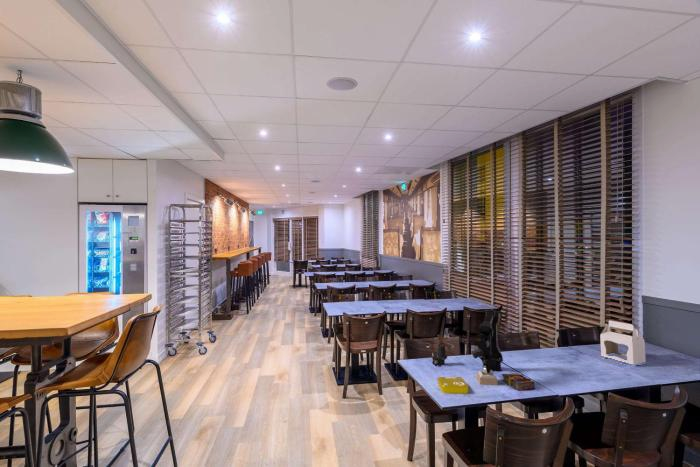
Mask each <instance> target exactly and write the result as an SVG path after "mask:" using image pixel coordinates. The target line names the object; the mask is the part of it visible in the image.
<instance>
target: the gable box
mask: <svg viewBox="0 0 700 467" xmlns="http://www.w3.org/2000/svg"><path fill="white" fill-rule="evenodd" d="M604 326H605V327H604V328H603V329H602V330H601V332H600V334H599V335H600V337H599V338H600V340H599V341H600V355H601V356H604V357H608V358H612V359H615V360H618V361H622V362H626V363H629V364H633V365H634V364H638V363H642V362H646V344H645V342H646V341H645V339H644V337H643V336H642V335H641V333H640V332H639V330H638V329H637V328H635V327H636V326H635V325H634V324H633V323H632V324H631V323H628V322H627V323H626V322H622V321H615V320H608V323H605V325H604ZM612 328H615V329H622V330H626V331H631V332H632V335H628V334H624V333H619V332H613V331H612ZM619 345H625V346H627V348H628V350H627V352H626V353H621V352H619ZM610 353H615V354H618V355H622V356H626V357H627V360H624V359H622V358H619V357H617V356H608V355H607V354H610ZM601 356H600V357H601Z"/></svg>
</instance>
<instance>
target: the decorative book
mask: <svg viewBox="0 0 700 467" xmlns="http://www.w3.org/2000/svg"><path fill="white" fill-rule="evenodd" d="M501 376H502V379H501V381H502V382H503V383H504V384H507V385H508V386H510V387H512V388H513V389H515V390H516V391H519V392H523V391H524V390H534V389H536V388H535V387H536V386H535V381H533V380H532V379H531V378H528V377H526V376H524V375H523V374H522V373H521V374H520V373H518V372H516V373H502V374H501Z"/></svg>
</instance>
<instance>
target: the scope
mask: <svg viewBox="0 0 700 467" xmlns="http://www.w3.org/2000/svg"><path fill="white" fill-rule="evenodd" d="M431 354H432V355H431V364H432V363H433V364H432V365H435V366H434V367H437V365H440V366H441V365H444V364H446V362H445V361H446V360H447V359H448V356H447V355H446V344H444V343H439V344H437V355H436V356H435V355H434V352H432V353H431ZM444 366H445V365H444Z"/></svg>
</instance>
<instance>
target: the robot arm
mask: <svg viewBox="0 0 700 467" xmlns="http://www.w3.org/2000/svg"><path fill="white" fill-rule="evenodd" d="M500 319H501V313H500V312H499V311H496V310H494V309H486V310H485V317H484V320H483V322H481V323H480V325H479V326H478V330H477V338H479V340H477V343H476V345H477V347H478V349H475V350H472V351H471V355H472V357H473V359H478V358H479V359H480V360H481V362H482V366H483V365H484V364H485V365H486V370H487V373H489V372H490V370H491V371H492V372H503V371H502V366H501V365H502V364H501V363H502V362H504V357H503V354H502V352H501V348H500V347H499V343H498V341H499V340H498V323H499V321H500Z"/></svg>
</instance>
